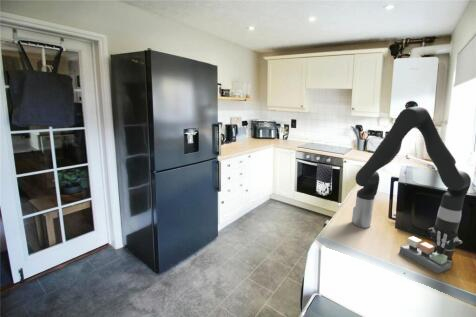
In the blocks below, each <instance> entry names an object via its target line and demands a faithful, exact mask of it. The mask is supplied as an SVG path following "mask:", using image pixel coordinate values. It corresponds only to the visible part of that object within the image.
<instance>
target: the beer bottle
mask: <svg viewBox="0 0 476 317" xmlns="http://www.w3.org/2000/svg"><path fill="white" fill-rule="evenodd" d="M457 235H459V234H458V231H457ZM452 243H454V239H452V240H450V242H449V243H448V244H449V245H450V244H452ZM433 246H435V247H434V252H433V253H435V252H437V251H436V248H437V243H435V242H433ZM455 248H456V246H454V247H451V248H449V249H448V248H446V251H445V253H444V255H446V256H448V257H447V260H450V259H452V258H453V256H454V252H455Z"/></svg>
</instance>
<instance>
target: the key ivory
mask: <svg viewBox="0 0 476 317" xmlns="http://www.w3.org/2000/svg"><path fill="white" fill-rule="evenodd" d="M406 242H407V243H406V244H407V245H411V246H413V247H415V248H417V247H419V246H420V244H421V243H423V241H422V239H421V238H418V237H415V236H414V235H413V236H410V237H408V238H407V241H406Z"/></svg>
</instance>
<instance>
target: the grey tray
mask: <svg viewBox="0 0 476 317" xmlns="http://www.w3.org/2000/svg"><path fill="white" fill-rule="evenodd" d="M419 247H420V246H419ZM419 247H417V248H415V247H413V246H411V245H409V244H407V245H400V246H399V253H401V254H402V255H404V256H406V257H408V258H409V259H412V260H413V261H415V262H416V263H418V264H420V265H421V266H423V267H425V268H426V269H430V270H431V271H433V272H435V273H436V274H440V273H443V272H445V271H446V270H449V269H451V268H452V267H451V265H452V260H450V259H447V261H446V263H444V264H439V263H437V262H435V261H433V260H431V257H432V253H430V254H426V253H425V252H423V251H421V250H419Z"/></svg>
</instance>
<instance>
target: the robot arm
mask: <svg viewBox="0 0 476 317" xmlns="http://www.w3.org/2000/svg"><path fill="white" fill-rule="evenodd" d="M414 128H417V130H418V131H419V132H420V134H421V135H422V138H423V140H424V145H425V149H426V152H427V155H428V157H429V158H430V160H431V161H432V163H433V164H434V165H433V166H435V167H436V169H437V173H438V175H439V178H440V180H441V182H442V184H443V186H445V187H446V188H447V189H446V190H445V192H444V193H443V195H442V197H441V202H440V205H439V208H438V211H437V216H436V220H435V224H434V226H433V227H429V228H427V232H428V234H429V236H430V238H431V240H432V243H434V242H435V243H437V248H436V251H437V253H438V254H440V255H441V254H444V253H445V251H446V248H448V249H449V248H451V247H454V246H455V247H456V246H458V245H460V244H463V243H464V241H463V240H461V239H460V238H459V237H458V235H459V234H458V235H457V232H458V230H459V226H460V222H461V219H462V211H463V206H464V202H465V198H466V196H467V194H468V192H469V190H470V187H471V184H472V179H471V176H470V174H469V173H468V172H465V171H462V170H459V169H458V168H457V166H456V163H457V161H456V158H455V157H454V156H453V154H452V152H450V150H449V148H448V147H447V146H446V144H445V143H444V141H443V140H442V138H441V136H440V134H439V132H438V130H437V127H436V125H435V123H434V121H433V119H432V116H431V114H430V112H429V111H428V109H426V107H424V106H420V105H417V106H412V107H407V108H404V109H403V110H401V111H400V113H399V114H398V115H397V117H396V119H395V120H394V122H393V125H392V126H391V128H390V129H389V131H388V132H387V134H386V135H385V136H384V138H383V139H382V141H381V142H380V143H379V145H378V146H377V147H376V149H375V151H373V153H372V155H371V156H370V157H369V159H368V160H367V161H366V162H365V163H364V165H363V166H362V167H361V168H360V169H359V170H358V171H357V173H356V175H355V183H356V184H357V185H358V186H359V187H361V188H360V189H359V190H357V191H356V198H355V206H354V207H353V210H352V216H351V223H353V225H355V226H356V227H358V228H361V229H363V228H364V229H368V228H370V227H371V223H372V216H373V211H374V210H373V209H374V205H375V197H376V195H377V194H378V189H379V185H380V174H379V172H378V170H380V169H382V168H384V167H385V166H387V165H388V164H389V163H391V162H392V161H393V160H394V159H395V158H396V157H397V156H398V154H399V153H400V151H401V148H402V142H403V140H404V138H405V137H406V135H407V134H409V132H410V131H411V130H413V129H414ZM452 239H454V243H452V244H450V245H449V244H448V243H449V242H450V240H452Z"/></svg>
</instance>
